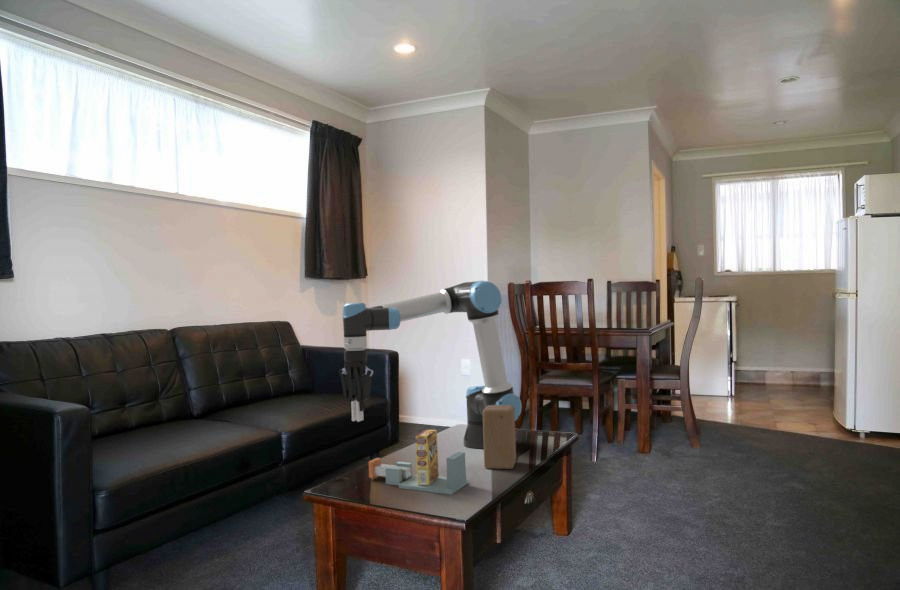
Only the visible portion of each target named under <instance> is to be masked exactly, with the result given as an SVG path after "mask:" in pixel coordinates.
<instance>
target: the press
mask: <svg viewBox="0 0 900 590" xmlns="http://www.w3.org/2000/svg"><path fill="white" fill-rule="evenodd" d="M395 465H396V466H405V467H411V476H410V477H408V478H406V479H404V478H402V468H397V467H387V468H385V470H386V476H385V484H386V485H393V486H398V489H404V490H413V491H420V492H429V493H435V494H445V495H453V494H455V492H458V491H459V490H460V489H462V488H463V487H465V486H466V485H468V483H469V479H467V476H466V475H467V472H466V468H467V467H466V452H464V451H463V452H461V451H458V452H455V453H453V454H452V455H450V456H448V457H447V458H446V476H439V478H438V479H436V480H435V481H434V482H433V483H431V484H430V485H429V486H428V485H418V481H417V474H415V475H414V476H413V463H412V462H406V461H405V462H404V461H397V462H396V463H395Z"/></svg>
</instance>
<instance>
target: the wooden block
mask: <svg viewBox="0 0 900 590" xmlns="http://www.w3.org/2000/svg"><path fill="white" fill-rule="evenodd" d="M483 440H484V448H483V465H484V468H485V469H493V470H495V469H496V470H513V469H514V467H515V464H516V460H517V445H516V443H517V442H516V421H515V412H514V406H512V405H488V406H486V408H485V409H484V410H483Z"/></svg>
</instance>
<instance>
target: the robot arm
mask: <svg viewBox="0 0 900 590" xmlns="http://www.w3.org/2000/svg"><path fill="white" fill-rule="evenodd" d="M501 304H502V294H501V290H500V289H499V287H497V285H496V284H495V283H493V282H491V281H488V280H486V281H485V280H477V281H466V282H461V283H459V284H456V285H453V286H450V287H446V288H443V289H440V290H439V291H438V292H436V293H432V294H427V295H422V296H417V297H413V298H409V299H408V298H407V299H404V300H403V299H402V300H399V301H398V300H397V301H395V302H394V301H393V302H389V303H386V304H381V305H377V306H376V305H375V306H372V307H367V305H366V303H365V302H357V303H356V302H353V303H347V302H346V303H344V304H343V307H342V325H343V328H342V329H343V349H344V351H343V353H344V354H343V360H344V362H345V364H344V367H343V368H341V369H338V375H339V376H340V380H341V381H340V382H341V386H342V387H341V388H342V393H343V398H344V399H345V400H348V401H349V411H351V421H352V422H357V423H359V422H361V421H364V411H365V410H366V400H369V399H371V393H372V392H371V390H372V383H373V381H372V380H373V376H374V374H375V370H374V369H370V368H369V365H368V363H367V361H368V351H367V348H368V343H367V342H368V339H367V332H370V331H385V330H386V331H388V330H389V331H390V330H397V329H399V327H400V325H401V323H402V322H405V321H409V320H413V319H414V320H415V319H418V318H423V317H428V316H432V315H435V314H436V315H437V314H440V313H444V314H445V315H446V314H451V313H466V316H467V320H468V321H469V322H470V323H471V324H472V325H473V329H474V330H473V331H474V336H475V341H476V346H477V351H478V358H479V361H480V366H481V367H480V368H481V372H482V376H483V377H482V378H483V383H484V385H479V386H470V387H467V388H466V394H465V395H466V396H465V398H466V416H467V417H466V420H467V424H466V425H467V426H466V429H465V432H464V437H463V445H464V447H468V448H471V449H472V448H473V449H484V440H483V410H484V409H485V408H486V406H488V405H512V406H514V412H515V422H516V421H517V420H518V419H519V416H520V415H521V413H522V408H523V407H522V405H523V404H522V400H521V399H520V397H519V396H518V395H516V394H515V393H514V387H513V384H511V383H510V382H509V381H508V377H507V372H506V367H505V363H504V358H503V357H504V356H503V351H502V347H501V341H500V334H499V331H498V325H497V318H498V317H499V315H500V314H499V308H500V306H501ZM356 395H357V396H356Z"/></svg>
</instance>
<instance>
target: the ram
mask: <svg viewBox="0 0 900 590" xmlns="http://www.w3.org/2000/svg"><path fill="white" fill-rule="evenodd" d="M387 467H397V468H402V478H404V479H403V480H405V479H406V478H408V477H410V476H411V467H405V466H396V464H386V463H382V460H381V458H380V457H376V458H374V459H371V460H369V461H368V478H370V479H374V478H375V477H379V476H380V477H386V470H385V468H387Z"/></svg>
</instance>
